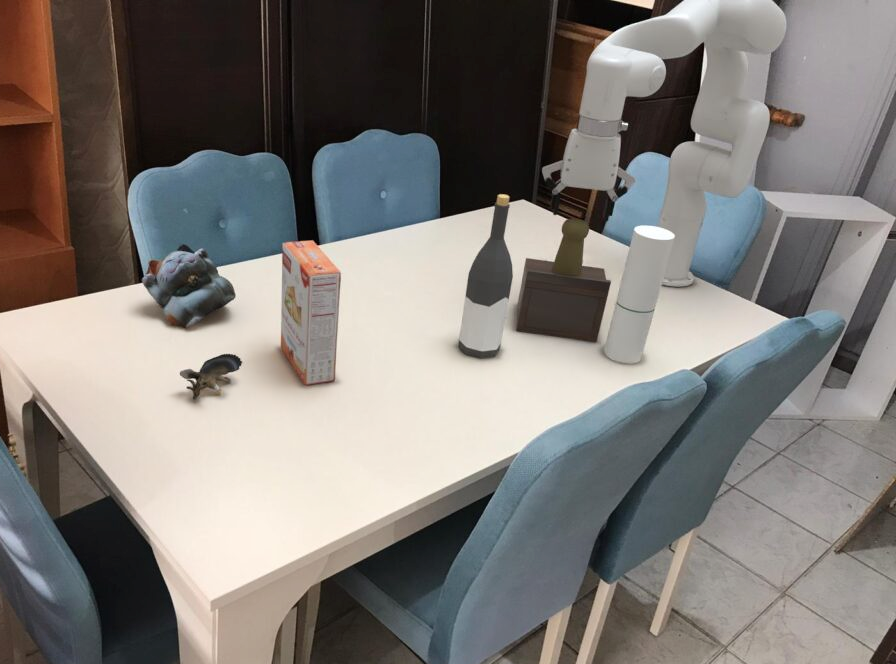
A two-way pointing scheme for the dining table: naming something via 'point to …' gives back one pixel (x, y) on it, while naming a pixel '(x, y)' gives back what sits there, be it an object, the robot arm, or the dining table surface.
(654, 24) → the robot arm
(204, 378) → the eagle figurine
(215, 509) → the dining table surface
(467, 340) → the wine bottle
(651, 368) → the dining table surface
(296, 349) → the cracker box
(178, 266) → the lucky cat figurine
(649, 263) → the cylindrical container
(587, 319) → the dark wooden chest
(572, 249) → the olive brown pepper mill
